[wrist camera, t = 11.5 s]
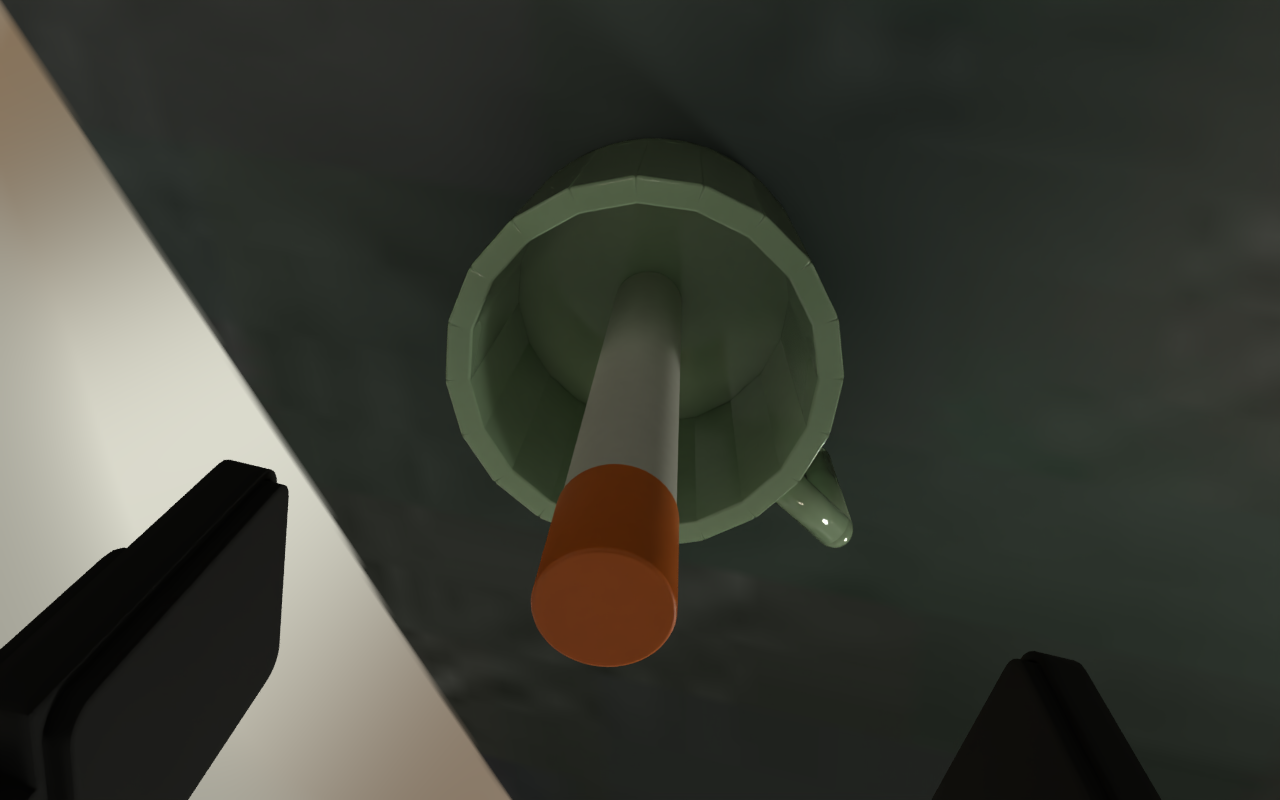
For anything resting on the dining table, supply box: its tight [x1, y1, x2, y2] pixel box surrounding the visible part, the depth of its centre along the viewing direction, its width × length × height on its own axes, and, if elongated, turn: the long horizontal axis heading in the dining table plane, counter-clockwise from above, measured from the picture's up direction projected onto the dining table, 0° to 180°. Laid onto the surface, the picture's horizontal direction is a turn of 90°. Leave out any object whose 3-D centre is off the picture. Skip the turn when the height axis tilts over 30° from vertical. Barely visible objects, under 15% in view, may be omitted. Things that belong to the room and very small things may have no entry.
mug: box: [446, 138, 853, 548], centre depth 23 cm, size 12×9×7 cm
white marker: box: [531, 272, 682, 667], centre depth 18 cm, size 2×2×14 cm
